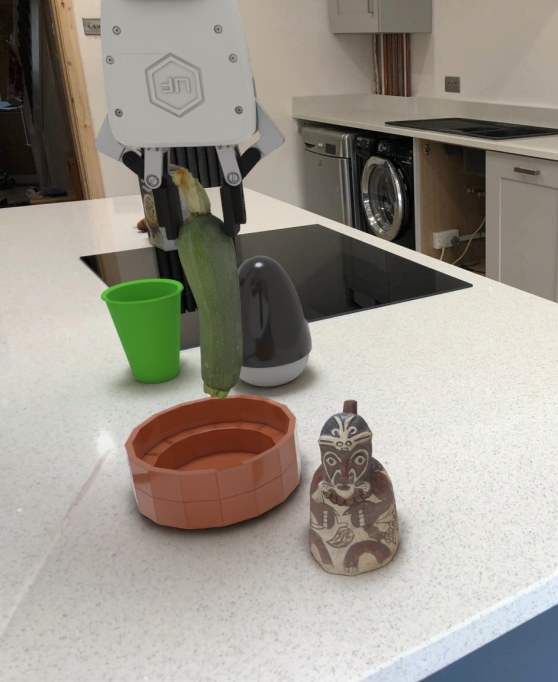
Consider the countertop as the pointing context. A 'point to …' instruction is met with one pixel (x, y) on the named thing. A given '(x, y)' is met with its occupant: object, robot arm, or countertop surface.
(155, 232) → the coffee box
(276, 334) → the pump dispenser
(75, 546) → the countertop surface
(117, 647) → the countertop surface
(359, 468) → the figurine
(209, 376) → the vegetable
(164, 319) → the cup
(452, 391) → the countertop surface
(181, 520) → the bowl
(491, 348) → the countertop surface
